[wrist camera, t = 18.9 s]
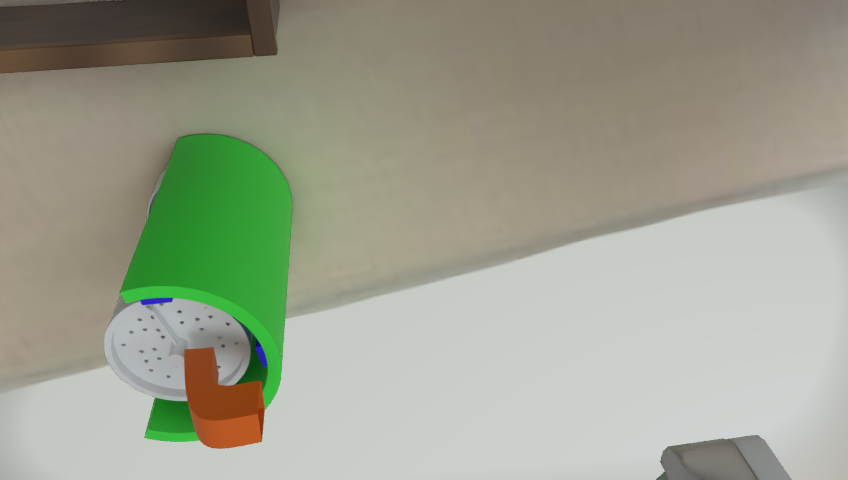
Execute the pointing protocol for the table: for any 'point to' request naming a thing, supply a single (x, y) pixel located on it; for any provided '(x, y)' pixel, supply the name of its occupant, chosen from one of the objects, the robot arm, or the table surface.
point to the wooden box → (134, 33)
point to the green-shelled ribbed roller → (207, 294)
